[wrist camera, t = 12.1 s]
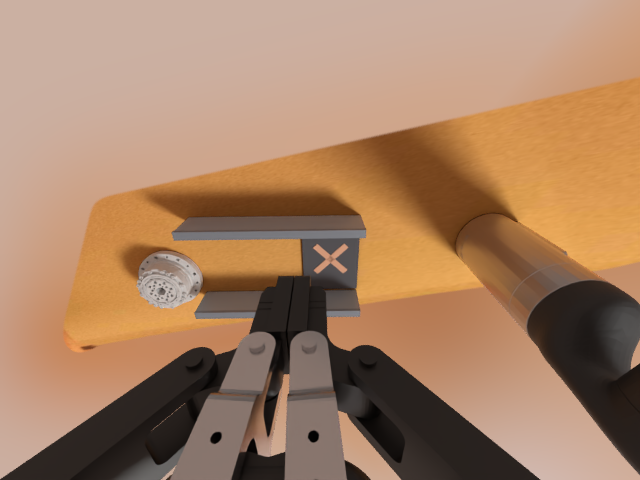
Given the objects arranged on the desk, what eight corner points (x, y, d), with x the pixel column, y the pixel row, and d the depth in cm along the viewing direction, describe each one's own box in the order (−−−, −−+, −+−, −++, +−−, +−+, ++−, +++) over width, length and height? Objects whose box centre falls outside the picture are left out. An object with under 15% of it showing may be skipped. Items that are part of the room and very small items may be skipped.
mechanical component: (151, 239, 44) (136, 284, 48) (135, 253, 40) (120, 300, 44) (212, 265, 47) (193, 306, 51) (202, 281, 43) (182, 324, 47)
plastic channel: (360, 214, 42) (366, 229, 37) (355, 294, 49) (359, 316, 44) (188, 216, 42) (171, 232, 37) (208, 296, 49) (196, 318, 44)
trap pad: (360, 224, 43) (360, 225, 43) (356, 287, 49) (356, 288, 48) (301, 224, 43) (301, 225, 43) (304, 287, 49) (304, 289, 48)
